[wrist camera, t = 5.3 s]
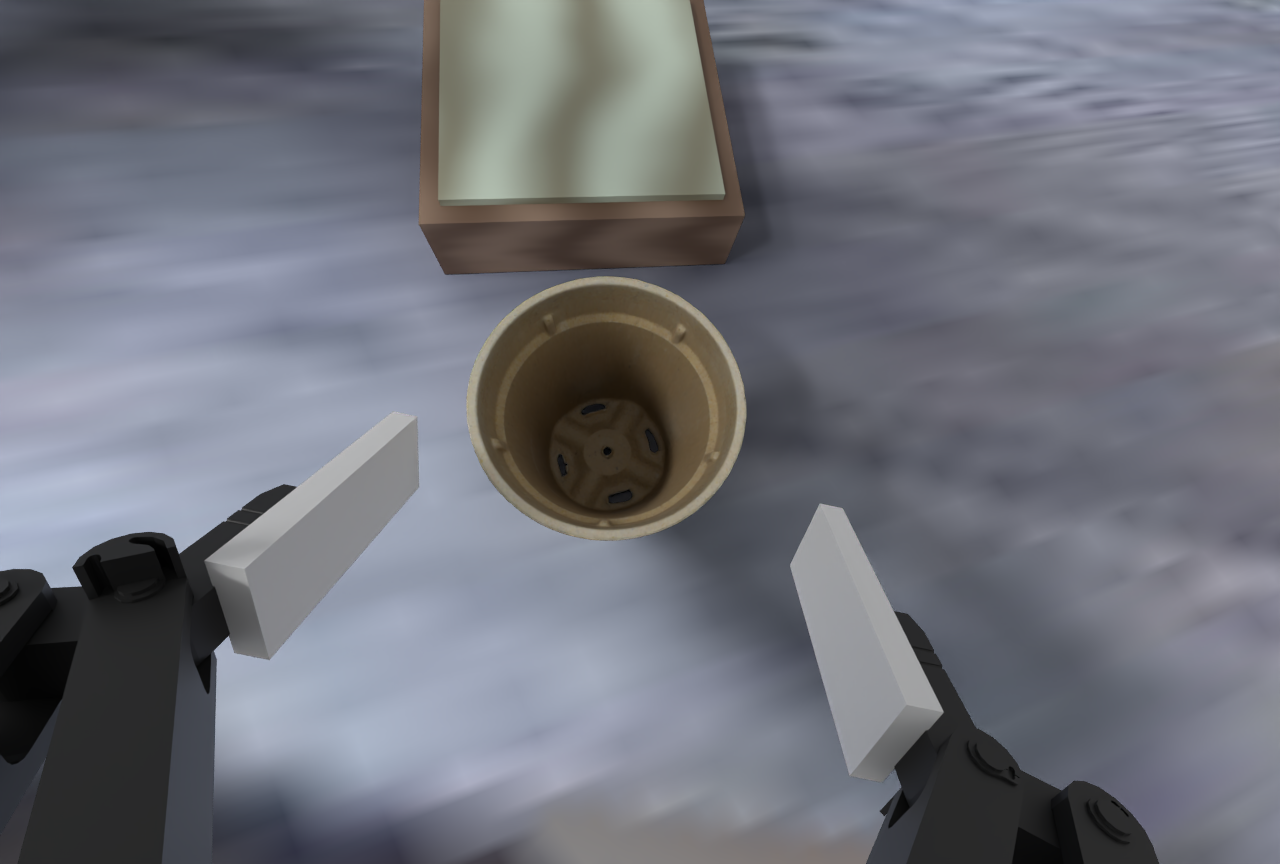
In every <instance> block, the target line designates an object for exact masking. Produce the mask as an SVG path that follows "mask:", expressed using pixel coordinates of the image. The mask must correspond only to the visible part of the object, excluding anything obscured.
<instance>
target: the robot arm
mask: <svg viewBox="0 0 1280 864" xmlns="http://www.w3.org/2000/svg"><path fill="white" fill-rule="evenodd" d="M418 488H419V464H418V429H417V416H412V415H407V414H403V413H398V412H394V411H393V412H392V413H390V414H389V415H388V416H387V417H385V418H384V419H383V420H382V421H380V422H379V423H378V424H377V425H375V426H374V427H373V428H371V429H370V430H369V431H368V432H366V433H365V434H364V435H363V436H361V437H360V438H359V439H358V440H356V441H355V442H354V443H352V444H351V445H350V446H349V447H347V448H346V449H345V450H344V451H342V452H341V453H340V454H339V455H337V456H336V457H335V458H334V459H332V460H331V461H330V462H328V463H327V464H326V465H325V466H323V467H322V468H321V469H320V470H318V471H317V472H316V473H315V474H313V475H312V476H311V477H309V478H308V479H307V480H306V481H304V482H303V483H302V484H301V485H299V486H298V487H295V486H290V485H285V484H283V485H281V486H279V487H276V488H274V489H271V490H269V491H267V492H264V493H262V494H260V495H258V496H257V497H256V498H254V499H253V500H252V501H250V502H249V503H248V504H246V505H245V506H244V507H242V510H241V511H240V510H238V511H237V512H235V513H234V514H233V515H231V516H230V517H229V518H227V521H226V522H224V521H223V522H222V523H221V524H219V525H218V526H216V527H215V528H214V529H212V530H211V531H210V532H208V533H207V534H206V535H204V536H203V537H202V538H200V539H199V540H198V541H196V542H195V543H193V544H192V545H191V546H189V547H188V548H187V549H185V550H184V551H183V552H181V553H180V554H179V553H178V551H177V548H176V545H175V542H174V539H173V538H171V537H169V536H167V535H166V534H163V533H154V532H144V533H134V534H128V535H125V536H121V537H117V538H114V539H111V540H108V541H106V542H104V543H102V544H100V545H97V546H95V547H93V548H92V549H90V550H89V551H88V552H86V553H85V554H83V555H82V556H81V557H79V559H78V560H77V562H76V563H75V565H74V566H73V567H72V568H73V570H74V572H75V574H76V576H77V578H78V580H79V582H80V583H81V585H82V587H64V588H50V586H49V584H48V582H47V581H46V579H45V577H44V575H43V574H42V573H40V572H37V571H34V570H31V569H12V570H6V571H0V835H1V833H2V831H3V830H4V828H5V826H6V824H7V823H8V821H9V819H10V818H11V816H12V814H13V813H14V811H15V809H16V807H17V806H18V804H19V802H20V801H21V799H22V797H23V796H24V794H25V792H26V790H27V789H28V787H29V785H30V784H31V782H32V780H33V778H34V777H35V775H36V773H37V772H38V770H39V768H40V767H41V765H42V763H43V761H44V760H45V758H46V760H45V764H44V768H43V772H42V775H41V779H40V783H39V786H38V790H37V794H36V797H35V801H34V805H33V808H32V812H31V816H30V820H29V823H28V827H27V831H26V834H25V838H24V842H23V845H22V849H21V853H20V856H19V860H18V864H212V836H213V793H214V751H215V708H216V666H217V659H216V656H215V653H214V650H215V649H216V648H217V647H218V646H219V645H220V644H221V643H222V642H223V641H224V640H225V639H226V638H227V637H228V636H229V638H230V641H231V644H232V647H233V650H234V653H237V654H242V655H247V656H252V657H257V658H262V659H267V660H270V659H271V658H272V657H273V655H274V654H275V653H276V652H277V651H278V650H279V648H280V647H281V646H282V645H283V644H284V643H285V641H286V640H287V639H288V638H289V637H290V636H291V635H292V633H293V632H294V631H295V630H296V629H297V628H298V626H299V625H300V624H301V623H302V622H303V621H304V620H305V618H306V617H307V616H308V615H309V614H310V613H311V611H312V610H313V609H314V608H315V607H316V606H317V604H318V603H319V602H320V601H321V600H322V599H323V598H324V596H325V595H326V594H327V593H328V592H329V591H330V589H331V588H332V587H333V586H334V585H335V584H336V582H337V581H338V580H339V579H340V578H341V577H342V576H343V574H344V573H345V572H346V571H347V570H348V569H349V567H350V566H351V565H352V564H353V563H354V562H355V561H356V559H357V558H358V557H359V556H360V555H361V554H362V552H363V551H364V550H365V549H366V548H367V547H368V545H369V544H370V543H371V542H372V541H373V540H374V539H375V537H376V536H377V535H378V534H379V533H380V532H381V530H382V529H383V528H384V527H385V526H386V525H387V523H388V522H389V521H390V520H391V519H392V518H393V517H394V515H395V514H396V513H397V512H398V511H399V510H400V508H401V507H402V506H403V505H404V504H405V503H406V502H407V500H408V499H409V498H410V497H411V496H412V495H413V493H414V492H415V491H416V490H417V489H418ZM790 567H791V571H792V574H793V578H794V581H795V585H796V589H797V592H798V596H799V599H800V603H801V606H802V610H803V613H804V617H805V620H806V624H807V627H808V631H809V634H810V638H811V641H812V645H813V649H814V652H815V656H816V659H817V663H818V666H819V670H820V673H821V677H822V680H823V684H824V687H825V691H826V694H827V698H828V701H829V705H830V709H831V712H832V716H833V719H834V723H835V726H836V730H837V733H838V737H839V740H840V744H841V747H842V751H843V754H844V758H845V761H846V765H847V769H848V772H849V776H851V777H856V778H861V779H866V780H871V781H876V782H881V783H883V781H884V780H885V779H886V778H887V777H888V776H889V775H890V773H891V772H892V771H893V770H894V769H895V770H896V773H897V775H898V778H899V781H900V784H901V786H902V788H901V789H900V790H899V791H898V792H897V793H896V794H895V795H894V796H893V797H892V799H891V800H890V801H889V802H888V803H887V804H886V805H885V806H884V807H883V808H882V810H881V811H880V812H881V813H882V814H883V815H884V816H885V815H886V814H887V815H886V818H885V820H884V822H883V825H882V827H881V829H880V832H879V834H878V836H877V839H876V841H875V844H874V846H873V848H872V851H871V853H870V855H869V858H868V860H867V863H866V864H1159V862H1158V859H1157V857H1156V854H1155V851H1154V848H1153V845H1152V844H1151V842H1150V840H1149V838H1148V836H1147V834H1146V832H1145V830H1144V829H1143V828H1142V826H1141V825H1140V824H1139V822H1138V821H1137V820H1136V819H1135V817H1134V816H1133V815H1132V814H1131V813H1130V812H1129V811H1128V810H1127V809H1126V808H1125V807H1124V806H1123V805H1122V804H1121V803H1120V802H1118V801H1117V800H1116V799H1115V798H1114V797H1112V796H1111V795H1109V794H1108V793H1106V792H1105V791H1104V790H1102V789H1101V788H1099V787H1097V786H1094V785H1092V784H1090V783H1087V782H1085V781H1073V782H1072V783H1071V784H1070V785H1068V786H1067V787H1066V788H1065V789H1063V790H1062V791H1061V790H1059V789H1057V788H1055V787H1053V786H1051V785H1049V784H1047V783H1045V782H1043V781H1041V780H1039V779H1037V778H1035V777H1033V776H1031V775H1029V774H1027V773H1025V772H1023V771H1021V770H1020V769H1019V767H1018V764H1017V763H1016V761H1015V760H1014V759H1013V758H1012V756H1011V755H1010V754H1009V752H1008V751H1007V750H1006V749H1005V748H1004V747H1003V746H1002V745H1001V744H1000V743H998V742H997V741H996V740H995V739H994V738H993V737H991V736H989V735H988V734H986V733H984V732H983V731H981V730H979V729H976V727H975V725H974V724H973V722H972V720H971V718H970V716H969V714H968V712H967V711H966V709H965V707H964V705H963V703H962V701H961V699H960V698H959V696H958V694H957V692H956V690H955V688H954V687H953V685H952V683H951V681H950V679H949V677H948V675H947V674H946V672H945V670H943V669H942V664H941V662H940V661H939V659H938V657H937V655H936V654H934V649H933V648H932V646H931V644H930V642H929V640H928V638H927V637H926V635H925V633H924V631H923V630H922V629H921V628H920V627H919V626H918V625H917V624H916V623H915V621H914V620H913V619H912V618H911V617H910V616H909V615H908V614H905V613H900V612H895V611H893V609H892V607H891V605H890V603H889V601H888V599H887V597H886V594H885V592H884V590H883V588H882V586H881V584H880V582H879V580H878V578H877V576H876V574H875V572H874V570H873V568H872V566H871V564H870V562H869V560H868V558H867V556H866V554H865V552H864V550H863V548H862V546H861V544H860V542H859V540H858V538H857V536H856V534H855V532H854V530H853V528H852V526H851V524H850V522H849V520H848V518H847V516H846V514H845V512H844V510H843V508H839V507H834V506H830V505H825V504H821V503H820V504H819V506H818V508H817V510H816V512H815V514H814V516H813V519H812V521H811V523H810V525H809V527H808V529H807V531H806V533H805V535H804V537H803V539H802V541H801V543H800V545H799V548H798V550H797V552H796V554H795V556H794V558H793V560H792V562H791V564H790ZM46 756H47V757H46Z"/></svg>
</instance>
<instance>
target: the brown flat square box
mask: <svg viewBox="0 0 1280 864" xmlns="http://www.w3.org/2000/svg"><path fill="white" fill-rule="evenodd" d="M744 217H745V212H744V207H743V202H742V197H741V192H740V187H739V181H738V176H737V171H736V166H735V161H734V156H733V151H732V145H731V140H730V135H729V130H728V125H727V120H726V115H725V109H724V104H723V99H722V94H721V89H720V84H719V78H718V73H717V68H716V63H715V58H714V53H713V48H712V42H711V37H710V32H709V27H708V22H707V17H706V12H705V6H704V1H703V0H424V26H423V68H422V110H421V152H420V194H419V226H420V227H421V229H422V231H423V233H424V235H425V237H426V239H427V241H428V243H429V245H430V247H431V248H432V250H433V252H434V254H435V256H436V258H437V260H438V262H439V264H440V266H441V268H442V269H443V271H444V273H445V274H467V273H493V272H519V271H546V270H572V269H599V268H625V267H652V266H678V265H705V264H725V262H726V260H727V257H728V255H729V253H730V250H731V248H732V246H733V243H734V241H735V238H736V236H737V234H738V231H739V229H740V227H741V224H742V222H743V219H744Z"/></svg>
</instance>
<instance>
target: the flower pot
mask: <svg viewBox="0 0 1280 864" xmlns="http://www.w3.org/2000/svg"><path fill="white" fill-rule="evenodd" d="M593 404H603V405H605V409H601V410H597V411H594V412H590V413H587V414H585V415H583V414H582V412H581V411H582V410H583V409H584V408H586V407H587V406H589V405H593ZM746 416H747V415H746V398H745V391H744V384H743V381H742V378H741V374H740V371H739V368H738V365H737V363H736V360H735V358H734V356H733V354H732V352H731V350H730V348H729V346H728V345H727V343H726V341H725V340H724V338H723V336H722V335H721V334H720V332H719V331H718V330H717V329H716V327H715V326H714V325H713V324H712V323H711V322H710V321H709V320H708V319H707V317H706V316H705V315H704V314H702V313H701V312H700V311H699V310H697V309H696V308H695V307H693V306H692V305H691V304H690V303H688V302H687V301H685V300H684V299H683V298H681V297H680V296H678V295H676V294H674V293H672V292H670V291H668V290H666V289H663V288H661V287H659V286H656V285H653V284H650V283H646V282H643V281H641V280H638V279H631V278H624V277H613V276H610V277H609V276H603V277H600V276H598V277H591V278H583V279H581V278H580V279H576V280H573V281H569V282H566V283H563V284H559V285H556V286H554V287H551V288H549V289H546V290H544V291H542V292H540V293H538V294H536V295H534V296H533V297H531V298H529V299H528V300H526V301H524V302H523V303H522V304H520V305H519V306H517V307H516V308H515V309H514V310H512V312H510V313H509V314H508V315H507V316H506V317H505V318H504V319H503V320H502V321H501V322H500V323H499V324H498V325H497V327H496V328H495V329H494V330H493V332H492V333H491V334H490V336H489V337H488V338H487V340H486V342H485V343H484V345H483V347H482V349H481V351H480V352H479V354H478V356H477V359H476V360H475V363H474V366H473V369H472V372H471V376H470V380H469V386H468V391H467V424H468V428H469V433H470V438H471V441H472V444H473V446H474V449H475V453H476V455H477V457H478V459H479V462H480V464H481V466H482V468H483V470H484V471H485V473H486V475H487V476H488V478H489V480H490V481H491V483H492V484H493V485H494V486H495V488H496V489H497V490H498V491H499V493H500V494H501V495H503V496H504V498H505V499H506V500H508V502H510V503H511V504H512V505H513V506H514V507H515V508H517V509H518V510H519V511H520V512H522V513H523V514H525V515H526V516H528V517H529V518H531V519H532V520H534V521H536V522H537V523H539V524H541V525H543V526H545V527H548V528H550V529H552V530H555V531H557V532H560V533H563V534H566V535H570V536H574V537H578V538H584V539H590V540H605V541H614V540H626V539H633V538H638V537H643V536H647V535H650V534H654V533H657V532H659V531H662V530H664V529H667V528H669V527H671V526H673V525H675V524H678V523H679V522H681V521H682V520H684V519H686V518H687V517H689V516H690V515H692V514H693V513H694V512H696V511H697V510H698V509H699V508H700V507H702V506H703V505H704V504H705V503H706V502H707V501H708V500H709V499H710V498H711V497H712V496H713V495H714V494H715V493H716V492H717V490H718V489H719V488H720V487H721V485H722V484H723V482H724V481H725V480H726V478H727V477H728V475H729V474H730V472H731V470H732V468H733V465H734V463H735V462H736V459H737V457H738V454H739V452H740V448H741V446H742V442H743V438H744V432H745V424H746ZM648 429H649V430H650V432H651V433H652V434H653V436H654V438H655V440H656V443H657V445H658V451H656V452H653V451H651V450H650V447H649V441H648V438H647V436H646V433H645V431H646V430H648ZM606 447H608V448H610V449H611V451H612V452H611V453H610V454H609V455H608V456H607V455H605V454H604V453H603V450H604V448H606ZM559 455H562V456H563V460H564V463H565V464H567V465H566V472H567V474H566V475H565V476H562V473H561V471H560V468H559V464H558V457H559ZM627 490H630V491H631V493H632V498H631V499H630V500H628V501H625V502H617V503H609V498H608V497H609V496H610V495H612V494H616V493H620V492H624V491H627Z"/></svg>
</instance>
